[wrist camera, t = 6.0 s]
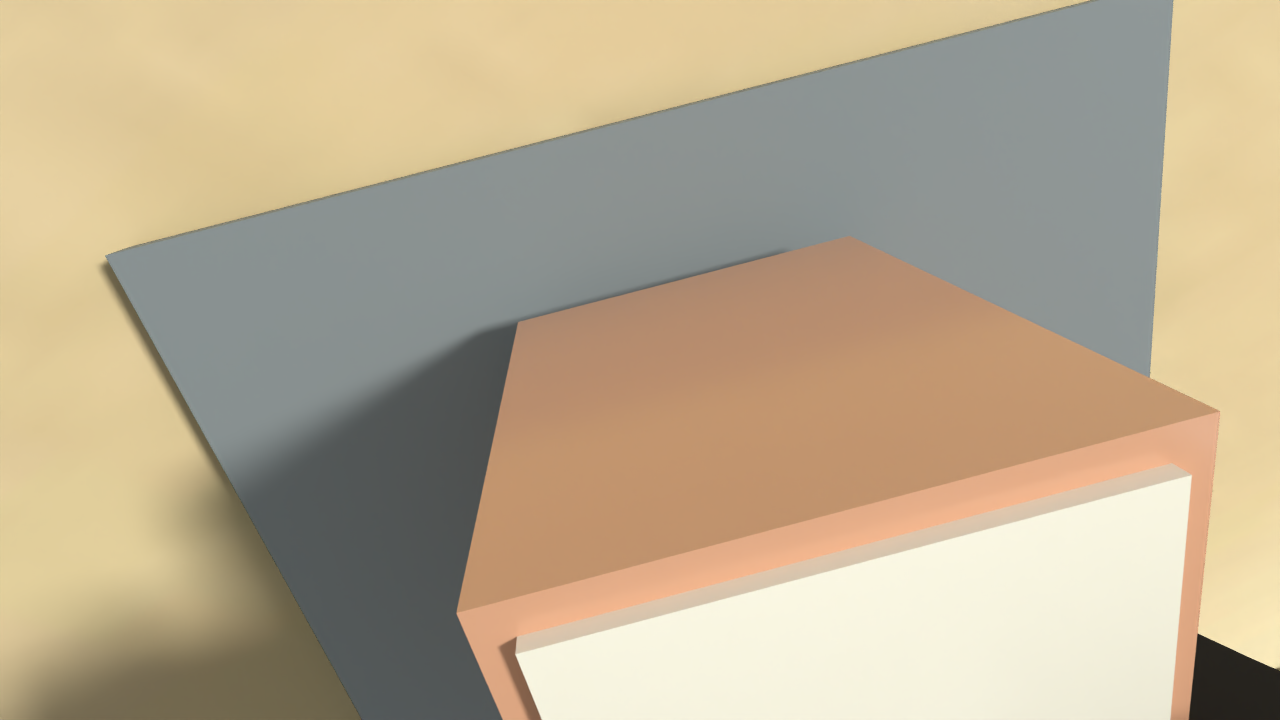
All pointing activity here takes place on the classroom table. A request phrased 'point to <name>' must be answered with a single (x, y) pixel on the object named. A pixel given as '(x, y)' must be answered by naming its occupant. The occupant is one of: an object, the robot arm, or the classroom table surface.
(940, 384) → the brick
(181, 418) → the classroom table surface
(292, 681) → the classroom table surface
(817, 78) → the mat
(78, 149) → the classroom table surface
